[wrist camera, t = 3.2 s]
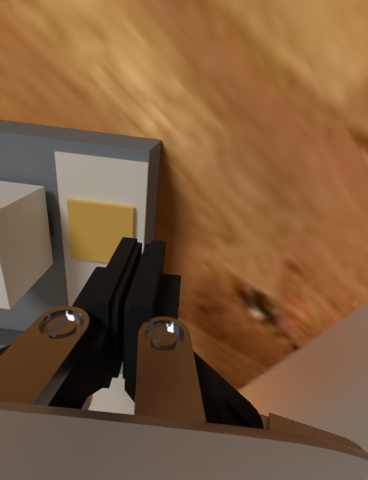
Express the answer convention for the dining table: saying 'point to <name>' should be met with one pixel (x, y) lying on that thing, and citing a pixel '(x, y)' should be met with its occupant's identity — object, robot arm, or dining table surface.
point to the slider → (22, 240)
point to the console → (80, 215)
